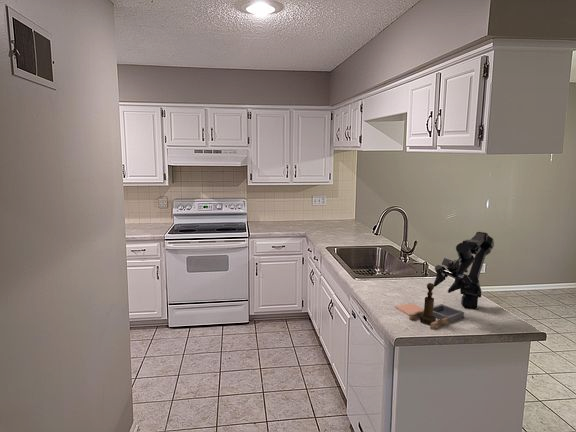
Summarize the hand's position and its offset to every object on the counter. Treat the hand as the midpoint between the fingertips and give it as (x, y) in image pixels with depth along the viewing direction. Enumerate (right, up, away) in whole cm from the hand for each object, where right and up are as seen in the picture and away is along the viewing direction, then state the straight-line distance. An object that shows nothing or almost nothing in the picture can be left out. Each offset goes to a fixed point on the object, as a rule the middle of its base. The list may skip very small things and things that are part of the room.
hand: (440, 289), depth 188 cm
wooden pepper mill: (-7, -15, -1) cm, 16 cm away
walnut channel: (-6, -14, -1) cm, 16 cm away
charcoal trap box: (+4, -13, +6) cm, 15 cm away
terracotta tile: (-10, -12, +12) cm, 20 cm away
